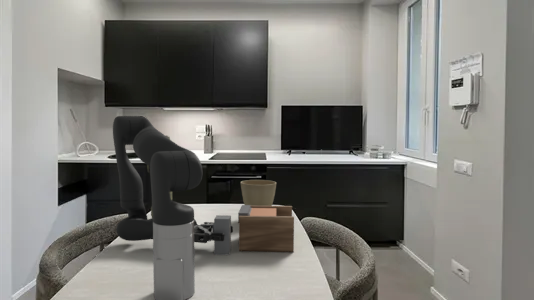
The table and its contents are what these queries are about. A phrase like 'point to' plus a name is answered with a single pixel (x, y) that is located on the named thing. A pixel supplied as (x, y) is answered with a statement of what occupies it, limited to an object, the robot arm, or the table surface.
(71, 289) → the table surface
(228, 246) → the basalt block
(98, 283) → the table surface
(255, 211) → the trapdoor
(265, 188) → the plant pot
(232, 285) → the table surface
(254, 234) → the walnut frame
